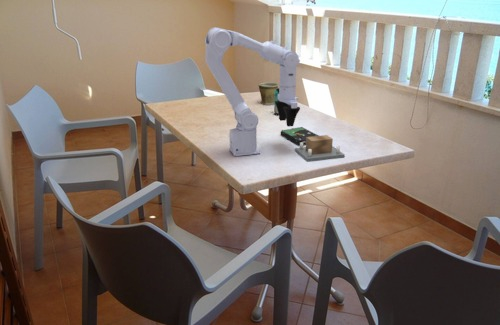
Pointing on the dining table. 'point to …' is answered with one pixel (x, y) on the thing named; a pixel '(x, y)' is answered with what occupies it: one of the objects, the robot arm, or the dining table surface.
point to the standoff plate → (315, 157)
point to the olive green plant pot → (268, 93)
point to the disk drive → (297, 135)
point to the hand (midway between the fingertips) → (286, 123)
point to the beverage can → (276, 100)
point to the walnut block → (319, 144)
